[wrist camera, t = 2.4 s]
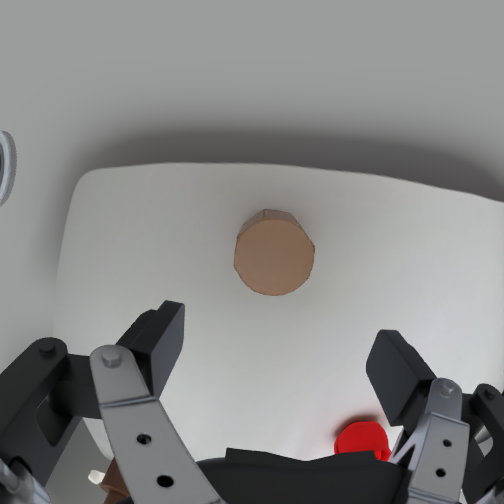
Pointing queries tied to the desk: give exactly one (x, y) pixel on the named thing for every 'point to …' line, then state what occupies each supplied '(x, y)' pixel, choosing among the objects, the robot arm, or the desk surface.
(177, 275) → the desk surface
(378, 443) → the flower
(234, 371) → the desk surface
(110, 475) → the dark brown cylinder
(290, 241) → the brown octagonal prism
